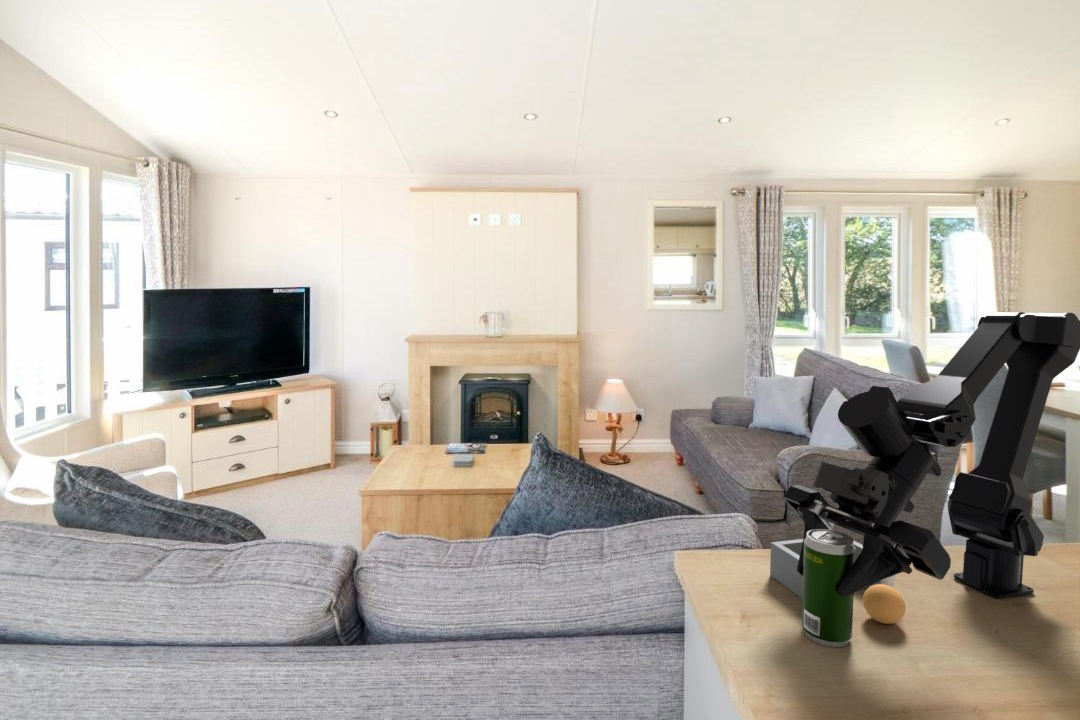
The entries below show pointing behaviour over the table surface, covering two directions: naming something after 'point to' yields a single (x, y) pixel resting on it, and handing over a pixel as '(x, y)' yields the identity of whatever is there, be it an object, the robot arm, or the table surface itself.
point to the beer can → (827, 587)
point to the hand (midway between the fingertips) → (819, 583)
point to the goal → (787, 562)
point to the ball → (884, 603)
